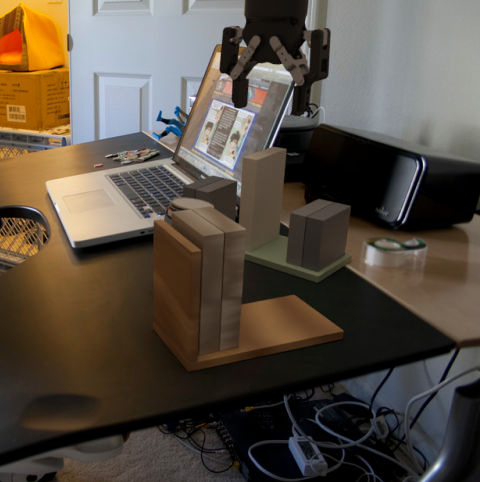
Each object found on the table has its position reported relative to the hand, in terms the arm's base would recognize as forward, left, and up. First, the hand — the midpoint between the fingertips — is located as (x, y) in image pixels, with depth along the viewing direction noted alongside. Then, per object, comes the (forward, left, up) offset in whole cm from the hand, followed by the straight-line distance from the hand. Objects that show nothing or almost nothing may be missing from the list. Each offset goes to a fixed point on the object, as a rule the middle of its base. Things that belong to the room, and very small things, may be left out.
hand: (268, 111), depth 83 cm
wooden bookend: (-12, +21, -20) cm, 31 cm away
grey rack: (0, 0, -20) cm, 20 cm away
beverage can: (-1, +18, -20) cm, 27 cm away
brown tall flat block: (0, 0, -19) cm, 19 cm away
